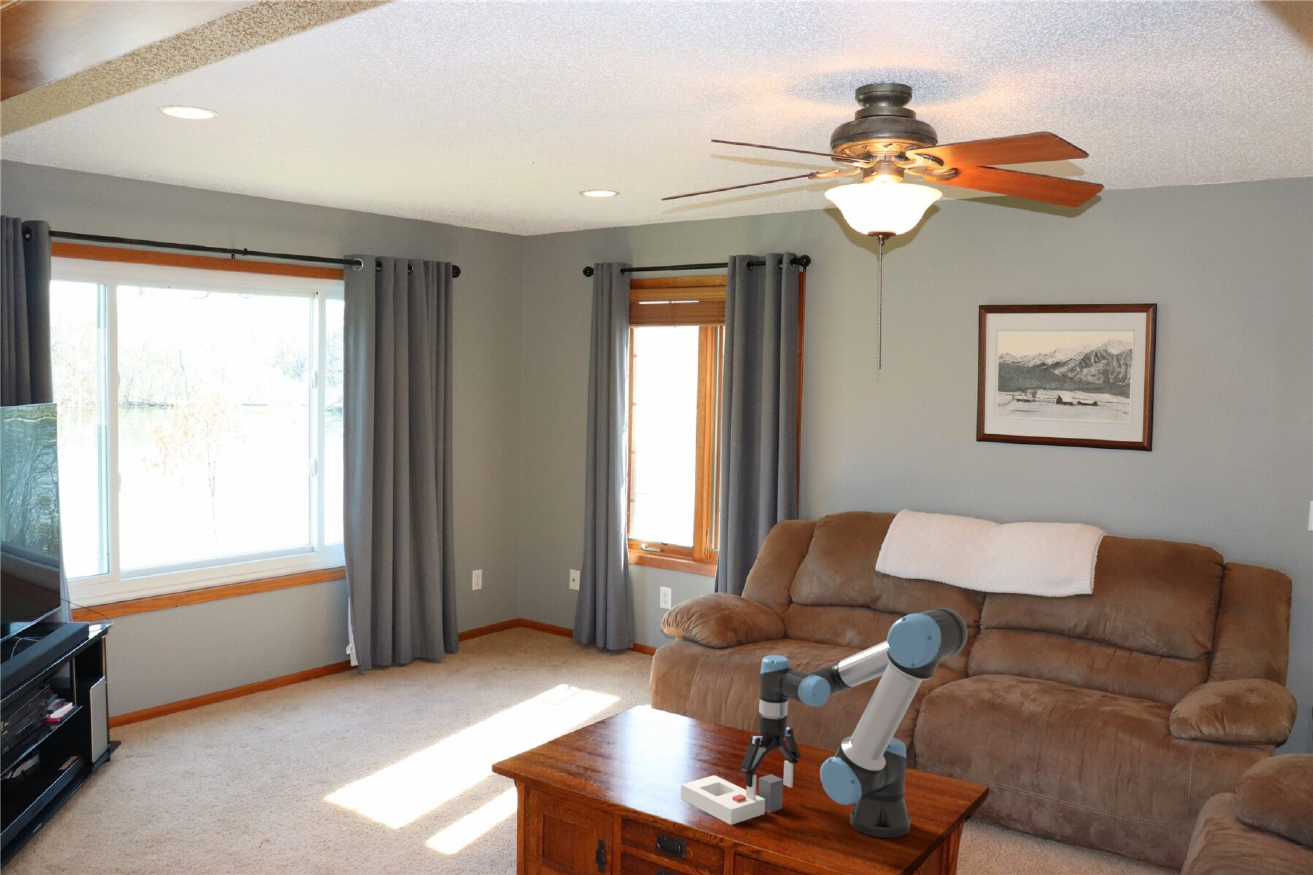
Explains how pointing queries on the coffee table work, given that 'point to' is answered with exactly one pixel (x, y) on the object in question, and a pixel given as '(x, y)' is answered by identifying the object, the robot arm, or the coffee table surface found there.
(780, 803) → the plug
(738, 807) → the socket plate
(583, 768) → the coffee table surface
